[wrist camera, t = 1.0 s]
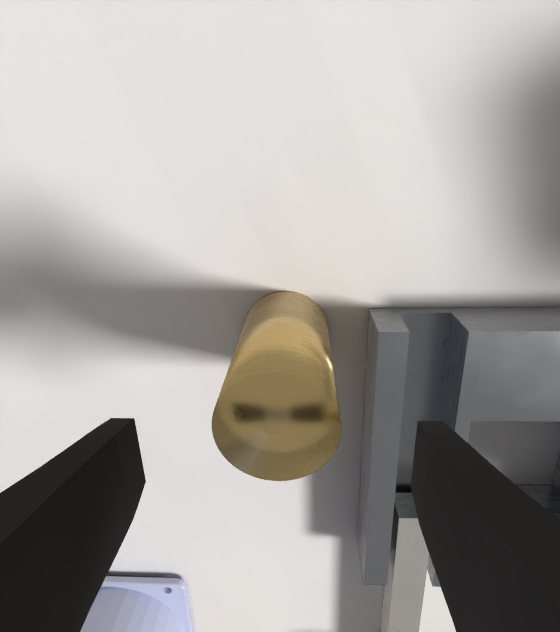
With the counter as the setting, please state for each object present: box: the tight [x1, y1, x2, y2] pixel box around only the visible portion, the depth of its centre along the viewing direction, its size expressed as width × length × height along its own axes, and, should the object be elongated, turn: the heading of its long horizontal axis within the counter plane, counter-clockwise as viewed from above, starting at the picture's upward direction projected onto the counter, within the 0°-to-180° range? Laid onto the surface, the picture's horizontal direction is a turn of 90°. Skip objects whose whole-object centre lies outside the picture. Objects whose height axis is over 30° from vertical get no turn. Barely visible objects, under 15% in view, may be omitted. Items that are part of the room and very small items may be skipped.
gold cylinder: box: [212, 291, 341, 481], centre depth 15 cm, size 4×4×7 cm
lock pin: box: [381, 493, 429, 632], centre depth 21 cm, size 2×14×4 cm, turn 2°
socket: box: [357, 307, 560, 587], centre depth 18 cm, size 13×13×2 cm
